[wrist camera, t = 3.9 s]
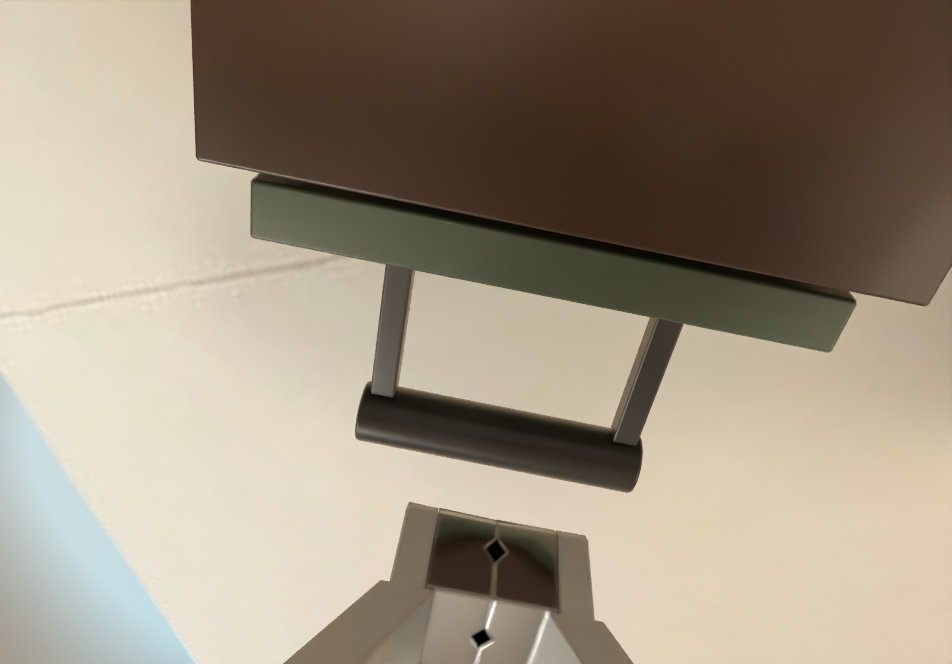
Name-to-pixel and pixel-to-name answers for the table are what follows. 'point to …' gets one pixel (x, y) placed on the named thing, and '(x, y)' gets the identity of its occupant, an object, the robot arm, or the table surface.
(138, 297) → the table surface
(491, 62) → the cabinet
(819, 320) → the drawer
